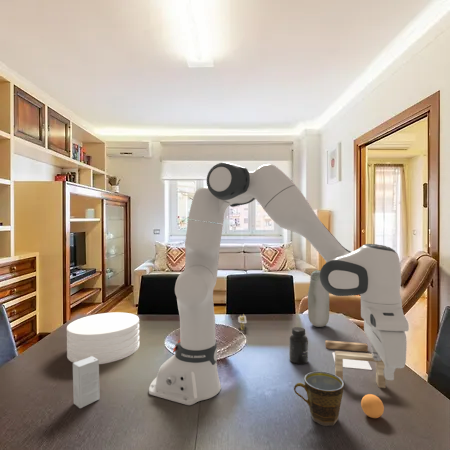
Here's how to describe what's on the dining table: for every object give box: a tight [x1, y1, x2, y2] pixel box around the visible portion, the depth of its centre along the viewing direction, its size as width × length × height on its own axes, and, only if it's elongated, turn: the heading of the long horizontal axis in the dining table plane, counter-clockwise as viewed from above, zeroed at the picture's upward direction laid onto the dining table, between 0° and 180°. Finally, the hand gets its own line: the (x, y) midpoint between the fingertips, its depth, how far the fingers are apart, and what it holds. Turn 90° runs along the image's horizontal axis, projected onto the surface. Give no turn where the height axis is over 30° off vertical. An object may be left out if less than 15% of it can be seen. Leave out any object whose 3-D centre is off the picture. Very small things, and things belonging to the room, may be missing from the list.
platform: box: [237, 313, 248, 331], centre depth 149 cm, size 12×18×7 cm, turn 179°
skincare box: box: [72, 356, 101, 409], centre depth 88 cm, size 6×4×12 cm
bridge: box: [334, 350, 386, 389], centre depth 97 cm, size 3×14×9 cm, turn 76°
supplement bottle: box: [288, 326, 309, 365], centre depth 113 cm, size 7×7×12 cm
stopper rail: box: [324, 339, 369, 353], centre depth 123 cm, size 16×2×2 cm, turn 76°
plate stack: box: [66, 311, 140, 365], centre depth 126 cm, size 28×28×12 cm
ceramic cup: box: [293, 370, 345, 427], centre depth 80 cm, size 13×10×10 cm
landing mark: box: [332, 351, 373, 371], centre depth 112 cm, size 12×12×1 cm
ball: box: [360, 393, 385, 419], centre depth 80 cm, size 6×6×6 cm
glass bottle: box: [307, 269, 330, 328], centre depth 150 cm, size 10×10×28 cm
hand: (382, 368), depth 72 cm, fingers open, 8 cm apart
